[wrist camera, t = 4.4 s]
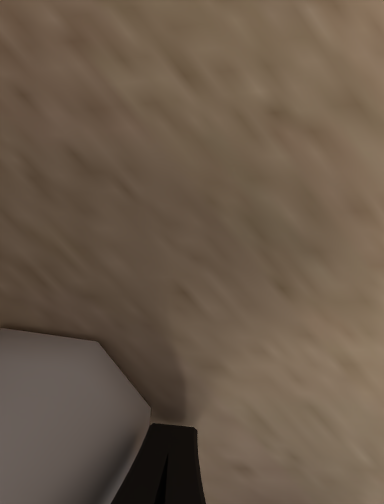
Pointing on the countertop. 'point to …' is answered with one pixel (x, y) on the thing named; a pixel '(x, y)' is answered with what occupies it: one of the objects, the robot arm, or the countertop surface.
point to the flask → (65, 421)
